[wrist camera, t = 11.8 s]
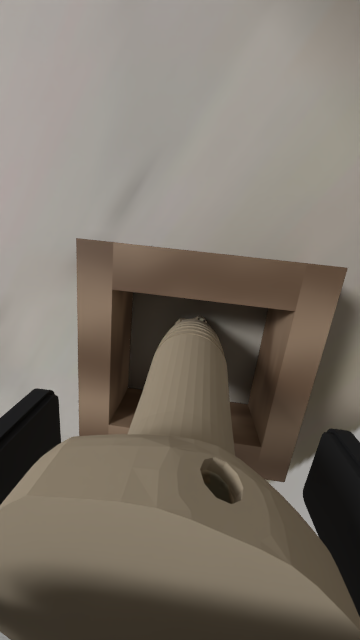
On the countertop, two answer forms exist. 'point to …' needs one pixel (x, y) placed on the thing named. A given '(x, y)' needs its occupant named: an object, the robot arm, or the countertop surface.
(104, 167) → the countertop surface
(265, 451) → the square frame
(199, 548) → the handle
